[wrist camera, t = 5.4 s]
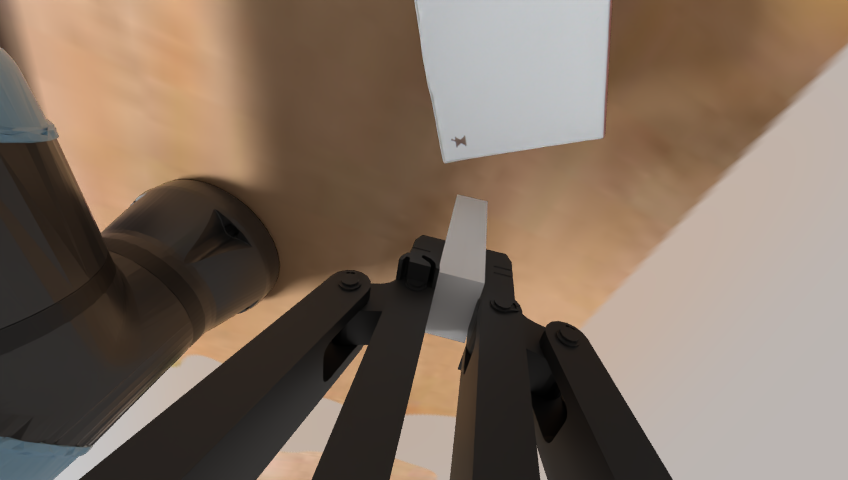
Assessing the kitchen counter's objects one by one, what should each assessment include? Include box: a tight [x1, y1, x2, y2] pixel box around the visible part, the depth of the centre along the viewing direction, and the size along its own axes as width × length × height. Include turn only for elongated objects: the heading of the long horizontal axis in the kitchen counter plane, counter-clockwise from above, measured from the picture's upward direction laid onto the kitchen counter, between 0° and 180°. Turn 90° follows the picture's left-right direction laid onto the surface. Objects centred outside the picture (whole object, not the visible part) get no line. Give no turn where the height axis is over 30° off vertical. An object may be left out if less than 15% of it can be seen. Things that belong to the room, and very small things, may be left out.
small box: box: [414, 0, 612, 163], centre depth 17 cm, size 8×6×13 cm
